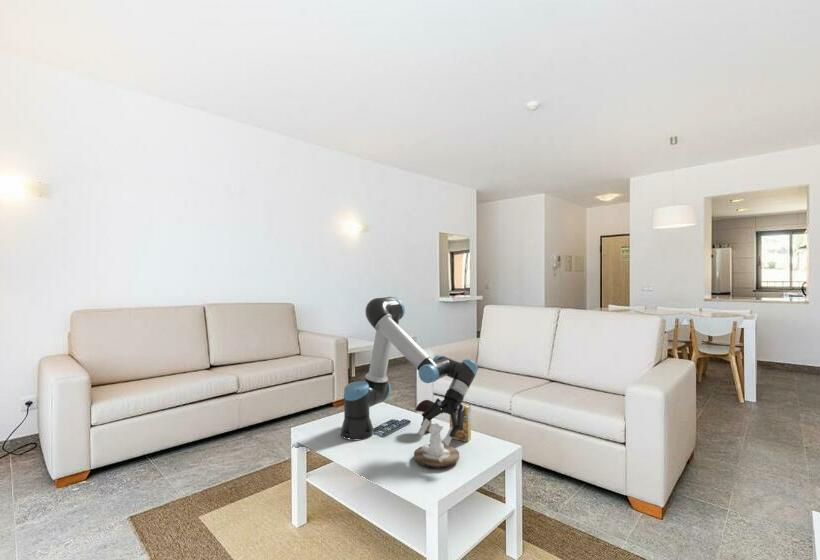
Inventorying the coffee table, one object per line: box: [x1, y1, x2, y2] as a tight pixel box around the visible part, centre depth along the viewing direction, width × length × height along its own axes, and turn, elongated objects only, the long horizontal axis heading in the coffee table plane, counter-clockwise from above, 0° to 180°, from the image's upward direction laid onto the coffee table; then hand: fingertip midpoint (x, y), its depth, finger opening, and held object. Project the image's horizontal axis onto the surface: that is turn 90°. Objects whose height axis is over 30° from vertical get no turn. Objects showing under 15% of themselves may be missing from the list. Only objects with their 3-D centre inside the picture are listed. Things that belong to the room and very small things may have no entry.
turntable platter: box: [413, 444, 460, 466], centre depth 161 cm, size 18×18×2 cm
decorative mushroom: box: [415, 399, 435, 433], centre depth 191 cm, size 11×11×15 cm
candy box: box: [449, 403, 472, 443], centre depth 182 cm, size 9×4×15 cm, turn 63°
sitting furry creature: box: [421, 423, 445, 456], centre depth 161 cm, size 10×9×12 cm
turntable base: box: [421, 464, 453, 469], centre depth 161 cm, size 14×14×1 cm
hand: (432, 439), depth 159 cm, fingers open, 13 cm apart
